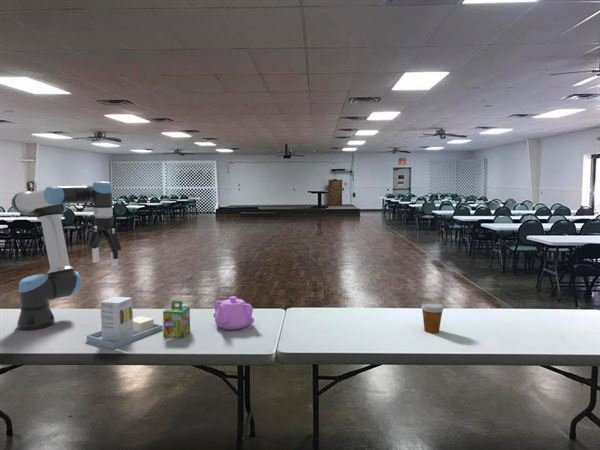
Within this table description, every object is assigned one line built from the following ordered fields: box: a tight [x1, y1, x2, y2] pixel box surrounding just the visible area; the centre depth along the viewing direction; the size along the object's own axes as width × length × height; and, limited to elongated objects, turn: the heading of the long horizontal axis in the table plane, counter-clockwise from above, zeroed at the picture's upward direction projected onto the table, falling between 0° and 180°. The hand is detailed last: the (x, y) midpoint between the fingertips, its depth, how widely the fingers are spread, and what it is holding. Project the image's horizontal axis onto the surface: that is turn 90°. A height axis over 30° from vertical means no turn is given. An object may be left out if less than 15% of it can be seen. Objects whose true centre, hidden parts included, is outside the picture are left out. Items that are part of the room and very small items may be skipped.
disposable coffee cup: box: [420, 301, 444, 334], centre depth 190 cm, size 10×10×12 cm
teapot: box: [213, 296, 255, 331], centre depth 197 cm, size 22×22×14 cm
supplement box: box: [99, 296, 134, 342], centre depth 183 cm, size 10×9×17 cm
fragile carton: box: [133, 315, 155, 333], centre depth 194 cm, size 9×7×4 cm
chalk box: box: [162, 300, 191, 339], centre depth 189 cm, size 9×9×15 cm
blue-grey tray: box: [86, 322, 163, 350], centre depth 187 cm, size 18×25×3 cm
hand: (105, 264), depth 190 cm, fingers open, 13 cm apart
